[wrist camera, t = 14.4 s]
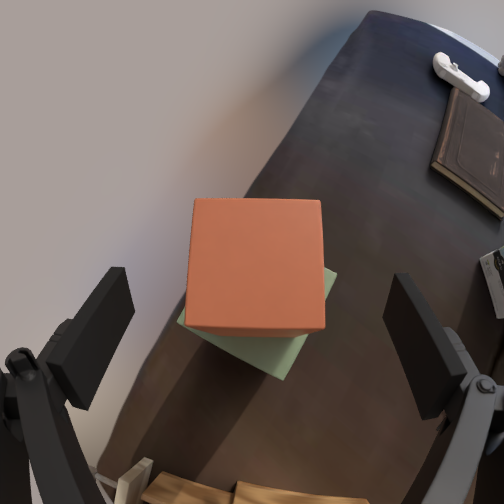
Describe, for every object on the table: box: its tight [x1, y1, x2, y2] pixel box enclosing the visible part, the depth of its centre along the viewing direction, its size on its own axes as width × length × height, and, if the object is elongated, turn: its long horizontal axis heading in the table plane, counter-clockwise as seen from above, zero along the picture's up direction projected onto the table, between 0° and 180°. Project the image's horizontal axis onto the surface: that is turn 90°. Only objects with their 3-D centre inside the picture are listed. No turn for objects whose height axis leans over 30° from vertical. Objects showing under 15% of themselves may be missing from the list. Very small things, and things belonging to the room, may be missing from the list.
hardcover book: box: [430, 87, 504, 221], centre depth 42 cm, size 16×23×2 cm
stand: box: [177, 268, 337, 381], centre depth 28 cm, size 8×8×16 cm
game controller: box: [433, 52, 490, 103], centre depth 46 cm, size 14×4×10 cm
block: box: [184, 198, 325, 337], centre depth 16 cm, size 5×5×10 cm
